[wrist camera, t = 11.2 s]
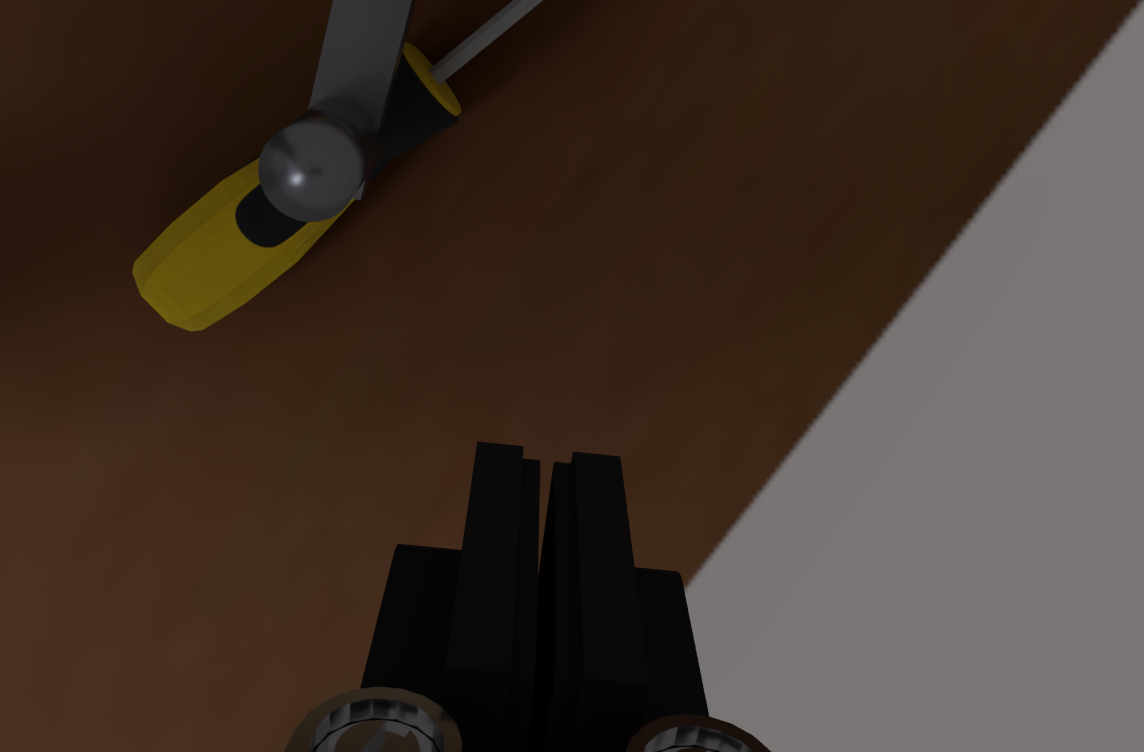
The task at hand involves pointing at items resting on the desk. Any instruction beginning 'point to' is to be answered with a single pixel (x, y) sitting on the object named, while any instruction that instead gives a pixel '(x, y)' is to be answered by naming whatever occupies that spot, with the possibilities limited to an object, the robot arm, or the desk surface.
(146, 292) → the screwdriver
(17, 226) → the desk surface
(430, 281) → the desk surface
